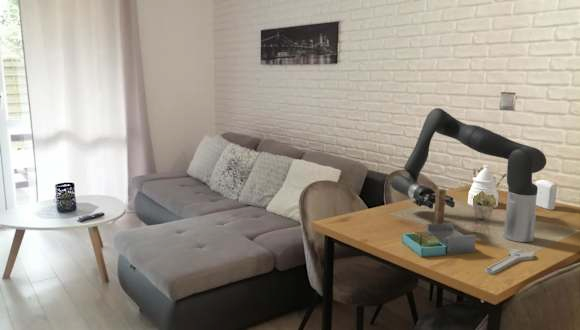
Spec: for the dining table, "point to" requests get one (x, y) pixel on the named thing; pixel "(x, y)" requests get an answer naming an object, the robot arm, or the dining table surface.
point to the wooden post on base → (439, 206)
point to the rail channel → (452, 238)
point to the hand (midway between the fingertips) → (442, 205)
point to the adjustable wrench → (509, 261)
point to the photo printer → (546, 194)
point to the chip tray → (426, 251)
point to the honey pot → (483, 185)
